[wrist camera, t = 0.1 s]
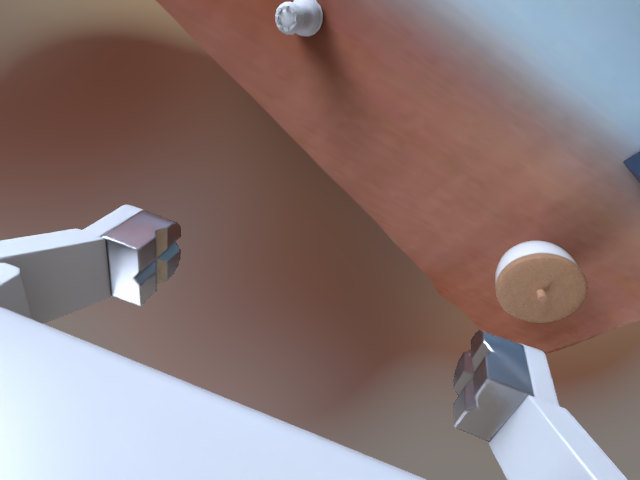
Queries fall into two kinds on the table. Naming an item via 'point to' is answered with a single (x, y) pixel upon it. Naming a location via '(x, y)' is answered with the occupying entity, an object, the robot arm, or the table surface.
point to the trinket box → (539, 282)
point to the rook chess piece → (299, 17)
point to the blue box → (634, 165)
